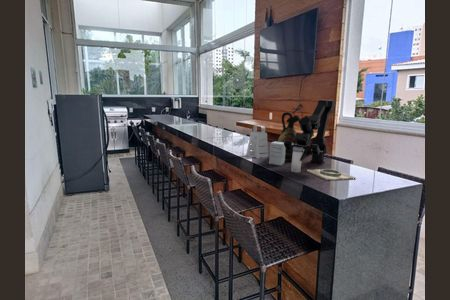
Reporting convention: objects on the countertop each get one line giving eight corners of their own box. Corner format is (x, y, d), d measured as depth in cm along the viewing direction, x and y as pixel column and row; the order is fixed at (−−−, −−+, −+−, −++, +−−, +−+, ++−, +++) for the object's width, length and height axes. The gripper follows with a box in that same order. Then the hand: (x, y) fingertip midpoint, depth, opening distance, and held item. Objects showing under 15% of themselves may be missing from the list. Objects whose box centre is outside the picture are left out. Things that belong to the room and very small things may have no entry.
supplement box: (273, 161, 167) (274, 141, 165) (284, 163, 164) (286, 142, 161) (268, 163, 161) (270, 142, 159) (280, 165, 157) (282, 144, 155)
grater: (257, 158, 175) (259, 127, 171) (246, 155, 183) (248, 125, 179) (268, 156, 182) (270, 126, 178) (257, 153, 189) (259, 124, 186)
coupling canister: (297, 170, 149) (299, 146, 147) (302, 172, 144) (305, 148, 142) (288, 170, 148) (291, 146, 145) (293, 172, 143) (296, 148, 140)
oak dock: (333, 170, 152) (333, 166, 152) (355, 179, 137) (356, 175, 136) (306, 171, 148) (307, 167, 147) (326, 180, 132) (327, 176, 131)
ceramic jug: (302, 158, 180) (307, 112, 174) (295, 162, 167) (300, 113, 161) (277, 154, 188) (281, 111, 183) (269, 158, 175) (273, 111, 170)
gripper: (286, 125, 150) (275, 147, 144) (320, 129, 139) (310, 153, 133) (291, 138, 158) (281, 160, 151) (323, 143, 147) (314, 166, 140)
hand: (295, 159), depth 144 cm, fingers closed on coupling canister, 5 cm apart
